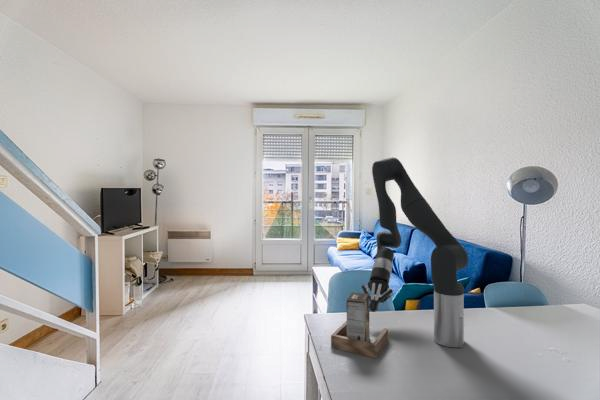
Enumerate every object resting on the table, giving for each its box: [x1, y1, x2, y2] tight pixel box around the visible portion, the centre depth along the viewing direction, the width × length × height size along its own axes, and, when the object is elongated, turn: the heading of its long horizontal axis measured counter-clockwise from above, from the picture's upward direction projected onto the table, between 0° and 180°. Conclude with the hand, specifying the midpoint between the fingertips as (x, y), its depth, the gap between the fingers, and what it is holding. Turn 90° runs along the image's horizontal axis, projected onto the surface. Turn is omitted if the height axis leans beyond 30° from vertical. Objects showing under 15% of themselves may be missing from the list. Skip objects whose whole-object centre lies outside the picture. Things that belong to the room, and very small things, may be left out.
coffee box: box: [346, 292, 370, 342], centre depth 111 cm, size 9×6×16 cm
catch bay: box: [330, 320, 389, 359], centre depth 111 cm, size 15×14×4 cm
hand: (372, 310), depth 123 cm, fingers closed
